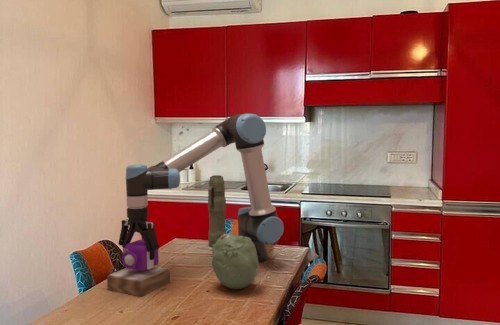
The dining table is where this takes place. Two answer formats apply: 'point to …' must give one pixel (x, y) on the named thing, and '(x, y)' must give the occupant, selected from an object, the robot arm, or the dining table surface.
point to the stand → (138, 280)
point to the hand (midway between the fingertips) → (139, 266)
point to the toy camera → (137, 256)
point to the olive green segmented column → (216, 208)
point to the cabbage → (234, 260)
